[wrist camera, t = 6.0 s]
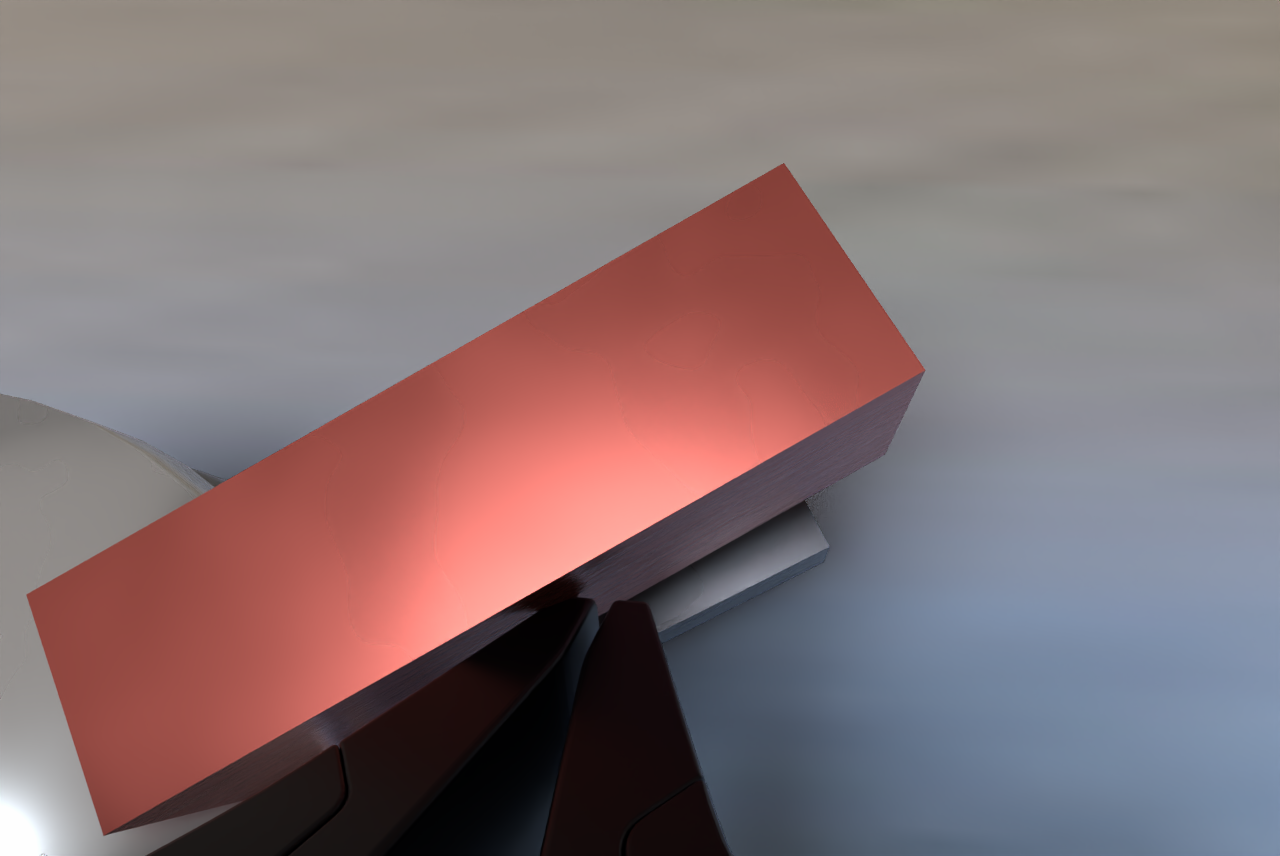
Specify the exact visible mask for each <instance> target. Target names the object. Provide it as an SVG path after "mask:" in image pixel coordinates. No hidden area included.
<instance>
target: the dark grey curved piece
mask: <svg viewBox="0 0 1280 856" xmlns="http://www.w3.org/2000/svg"><path fill="white" fill-rule="evenodd" d="M192 470H193V471H195V472H196V473H197V474H198V475H200V476H201V477H202V478H204V479H205V480H206V481H207V482H209V483H210V484H211V485H212V486H214V487H216V486H218V485H220V484H221V483H223V482H225V481H227V480H225V479H222V478H219V477H216V476H213V475H210V474H207V473H204V472H201V471H198V470H195V469H192ZM829 547H830V546H829V544H828V542H827V540H826V539H825V537H824V535H823V533H822V531H821V529H820V528H819V526H818V524H817V522H816V520H815V518H814V517H813V515H812V513H811V511H810V509H809V507H808V506H807V504H806V502H805V500H804V501H802V502H800V503H798V504H796V505H795V506H793V507H791V508H789V509H788V510H786V511H784V512H782V513H781V514H779V515H777V516H775V517H773V518H772V519H770V520H768V521H766V522H765V523H763V524H761V525H759V526H758V527H756V528H754V529H752V530H750V531H749V532H747V533H745V534H743V535H742V536H740V537H738V538H736V539H735V540H733V541H731V542H729V543H728V544H726V545H724V546H722V547H720V548H719V549H717V550H715V551H713V552H712V553H710V554H708V555H706V556H705V557H703V558H701V559H699V560H697V561H696V562H694V563H692V564H690V565H689V566H687V567H685V568H683V569H682V570H680V571H678V572H676V573H674V574H673V575H671V576H669V577H667V578H666V579H664V580H662V581H660V582H659V583H657V584H655V585H653V586H651V587H650V588H648V589H646V590H644V591H643V592H641V593H639V594H637V595H636V596H634V597H632V598H630V599H629V600H627V601H641V602H646V603H648V605H649V606H650V609H651V612H652V615H653V619H654V622H655V625H656V628H657V631H658V634H659V638H660V641H661V644H662V643H664V642H666V641H668V640H670V639H672V638H674V637H676V636H678V635H680V634H682V633H684V632H686V631H688V630H690V629H692V628H694V627H696V626H698V625H700V624H702V623H704V622H706V621H708V620H710V619H712V618H714V617H716V616H718V615H720V614H722V613H724V612H726V611H728V610H730V609H732V608H734V607H736V606H737V605H739V604H741V603H743V602H745V601H747V600H749V599H751V598H753V597H755V596H757V595H759V594H761V593H763V592H765V591H767V590H769V589H771V588H773V587H775V586H777V585H779V584H781V583H783V582H785V581H787V580H789V579H791V578H793V577H795V576H797V575H799V574H801V573H803V572H805V571H807V570H809V569H811V568H813V567H815V566H817V565H819V564H821V563H823V562H824V560H825V558H826V555H827V552H828V550H829ZM607 612H608V611H607ZM607 612H606V613H604V614H602V615H600V616H598V620H599V628H600V626H601V624H602V622H603V620H604V618H605V616H606V614H607Z"/></svg>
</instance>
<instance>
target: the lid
mask: <svg viewBox="0 0 1280 856" xmlns="http://www.w3.org/2000/svg"><path fill="white" fill-rule="evenodd" d="M924 372H925V369H924V368H923V366H922V365H921V363H920V362H919V360H918V359H917V357H916V356H915V354H914V353H913V351H912V350H911V349H910V347H909V346H908V344H907V343H906V341H905V340H904V338H903V337H902V335H901V334H900V332H899V331H898V329H897V328H896V327H895V325H894V324H893V322H892V321H891V319H890V318H889V316H888V315H887V313H886V312H885V310H884V309H883V308H882V306H881V305H880V303H879V302H878V300H877V299H876V297H875V296H874V294H873V293H872V291H871V290H870V288H869V287H868V286H867V284H866V283H865V281H864V280H863V278H862V277H861V275H860V274H859V272H858V271H857V269H856V268H855V266H854V265H853V264H852V262H851V261H850V259H849V258H848V256H847V255H846V253H845V252H844V250H843V249H842V247H841V246H840V244H839V243H838V242H837V240H836V239H835V237H834V236H833V234H832V233H831V231H830V230H829V228H828V227H827V225H826V224H825V222H824V221H823V220H822V218H821V217H820V215H819V214H818V212H817V211H816V209H815V208H814V206H813V205H812V203H811V202H810V201H809V199H808V198H807V196H806V195H805V193H804V192H803V190H802V189H801V187H800V186H799V184H798V183H797V181H796V180H795V179H794V177H793V176H792V174H791V173H790V171H789V170H788V168H787V167H786V165H785V164H784V163H783V164H781V165H780V166H778V167H776V168H774V169H773V170H771V171H769V172H767V173H766V174H764V175H762V176H760V177H759V178H757V179H755V180H753V181H752V182H750V183H748V184H746V185H745V186H743V187H741V188H739V189H737V190H736V191H734V192H732V193H730V194H729V195H727V196H725V197H723V198H722V199H720V200H718V201H716V202H715V203H713V204H711V205H709V206H708V207H706V208H704V209H702V210H701V211H699V212H697V213H695V214H694V215H692V216H690V217H688V218H687V219H685V220H683V221H681V222H680V223H678V224H676V225H674V226H673V227H671V228H669V229H667V230H666V231H664V232H662V233H660V234H658V235H657V236H655V237H653V238H651V239H650V240H648V241H646V242H644V243H643V244H641V245H639V246H637V247H636V248H634V249H632V250H630V251H629V252H627V253H625V254H623V255H622V256H620V257H618V258H616V259H615V260H613V261H611V262H609V263H608V264H606V265H604V266H602V267H601V268H599V269H597V270H595V271H594V272H592V273H590V274H588V275H586V276H585V277H583V278H581V279H579V280H578V281H576V282H574V283H572V284H571V285H569V286H567V287H565V288H564V289H562V290H560V291H558V292H557V293H555V294H553V295H551V296H550V297H548V298H546V299H544V300H543V301H541V302H539V303H537V304H536V305H534V306H532V307H530V308H529V309H527V310H525V311H523V312H522V313H520V314H518V315H516V316H514V317H513V318H511V319H509V320H507V321H506V322H504V323H502V324H500V325H499V326H497V327H495V328H493V329H492V330H490V331H488V332H486V333H485V334H483V335H481V336H479V337H478V338H476V339H474V340H472V341H471V342H469V343H467V344H465V345H464V346H462V347H460V348H458V349H457V350H455V351H453V352H451V353H450V354H448V355H446V356H444V357H443V358H441V359H439V360H437V361H435V362H434V363H432V364H430V365H428V366H427V367H425V368H423V369H421V370H420V371H418V372H416V373H414V374H413V375H411V376H409V377H407V378H406V379H404V380H402V381H400V382H399V383H397V384H395V385H393V386H392V387H390V388H388V389H386V390H385V391H383V392H381V393H379V394H378V395H376V396H374V397H372V398H371V399H369V400H367V401H365V402H363V403H362V404H360V405H358V406H356V407H355V408H353V409H351V410H349V411H348V412H346V413H344V414H342V415H341V416H339V417H337V418H335V419H334V420H332V421H330V422H328V423H327V424H325V425H323V426H321V427H320V428H318V429H316V430H314V431H313V432H311V433H309V434H307V435H306V436H304V437H302V438H300V439H299V440H297V441H295V442H293V443H291V444H290V445H288V446H286V447H284V448H283V449H281V450H279V451H277V452H276V453H274V454H272V455H270V456H269V457H267V458H265V459H263V460H262V461H260V462H258V463H256V464H255V465H253V466H251V467H249V468H248V469H246V470H244V471H242V472H241V473H239V474H237V475H235V476H234V477H232V478H230V479H228V480H227V481H225V482H223V483H221V484H220V485H218V486H216V487H214V486H212V485H211V484H210V483H209V482H207V481H206V480H205V479H204V478H202V477H201V476H200V475H198V474H197V473H196V472H195V471H193V470H192V469H191V468H190V467H188V466H186V465H184V464H183V463H181V462H179V461H177V460H176V459H174V458H172V457H170V456H169V455H167V454H165V453H163V452H162V451H160V450H158V449H156V448H154V447H153V446H151V445H149V444H147V443H146V442H144V441H142V440H139V439H137V438H134V437H131V436H129V435H126V434H123V433H121V432H118V431H116V430H113V429H110V428H108V427H105V426H102V425H100V424H97V423H94V422H92V421H89V420H86V419H83V418H80V417H77V416H74V415H72V414H69V413H66V412H63V411H60V410H57V409H55V408H52V407H49V406H46V405H43V404H40V403H37V402H35V401H32V400H27V399H22V398H17V397H12V396H8V395H3V394H0V856H146V855H148V854H149V853H151V852H153V851H155V850H157V849H158V848H160V847H162V846H164V845H166V844H167V843H169V842H171V841H173V840H175V839H177V838H178V837H180V836H182V835H184V834H186V833H187V832H189V831H191V830H193V829H195V828H197V827H198V826H200V825H202V824H204V823H206V822H207V821H209V820H211V819H213V818H214V817H216V816H218V815H220V814H221V813H223V812H225V811H227V810H228V809H230V808H232V807H234V806H235V805H237V804H239V803H241V802H242V801H244V800H246V799H247V798H249V797H251V796H253V795H254V794H256V793H258V792H260V791H261V790H263V789H264V788H266V787H268V786H269V785H271V784H272V783H274V782H276V781H277V780H279V779H280V778H282V777H284V776H285V775H287V774H288V773H290V772H292V771H293V770H295V769H296V768H298V767H300V766H301V765H303V764H304V763H306V762H308V761H309V760H311V759H312V758H314V757H315V756H317V755H318V754H320V753H321V752H323V751H324V750H326V749H327V748H329V747H330V746H332V745H338V747H339V743H340V742H341V741H342V740H343V739H345V738H346V737H348V736H349V735H351V734H352V733H354V732H355V731H357V730H358V729H360V728H361V727H363V726H365V725H366V724H368V723H369V722H371V721H372V720H374V719H375V718H377V717H378V716H380V715H381V714H383V713H384V712H386V711H387V710H389V709H390V708H392V707H393V706H395V705H396V704H398V703H400V702H401V701H403V700H404V699H406V698H407V697H409V696H410V695H412V694H413V693H415V692H416V691H418V690H419V689H421V688H422V687H424V686H425V685H427V684H428V683H430V682H431V681H433V680H434V679H436V678H438V677H439V676H441V675H442V674H444V673H445V672H447V671H448V670H450V669H451V668H453V667H454V666H456V665H457V664H459V663H460V662H462V661H463V660H465V659H466V658H468V657H469V656H471V655H473V654H474V653H476V652H477V651H479V650H480V649H482V648H483V647H485V646H486V645H488V644H489V643H491V642H492V641H494V640H495V639H497V638H498V637H500V636H501V635H503V634H504V633H506V632H508V631H509V630H511V629H512V628H514V627H515V626H517V625H518V624H520V623H521V622H523V621H524V620H526V619H527V618H529V617H530V616H532V615H533V614H535V613H536V612H538V611H540V610H541V609H544V608H546V607H549V606H552V605H554V604H557V603H560V602H563V601H565V600H568V599H571V598H574V597H582V598H591V599H593V600H594V601H595V603H596V605H597V610H598V616H600V615H602V614H604V613H606V612H607V611H608V610H609V609H610V607H611V605H612V603H613V602H615V601H617V600H626V601H627V600H629V599H630V598H632V597H634V596H636V595H637V594H639V593H641V592H643V591H644V590H646V589H648V588H650V587H651V586H653V585H655V584H657V583H659V582H660V581H662V580H664V579H666V578H667V577H669V576H671V575H673V574H674V573H676V572H678V571H680V570H682V569H683V568H685V567H687V566H689V565H690V564H692V563H694V562H696V561H697V560H699V559H701V558H703V557H705V556H706V555H708V554H710V553H712V552H713V551H715V550H717V549H719V548H720V547H722V546H724V545H726V544H728V543H729V542H731V541H733V540H735V539H736V538H738V537H740V536H742V535H743V534H745V533H747V532H749V531H750V530H752V529H754V528H756V527H758V526H759V525H761V524H763V523H765V522H766V521H768V520H770V519H772V518H773V517H775V516H777V515H779V514H781V513H782V512H784V511H786V510H788V509H789V508H791V507H793V506H795V505H796V504H798V503H800V502H802V501H804V500H805V499H807V498H809V497H811V496H812V495H814V494H816V493H818V492H819V491H821V490H823V489H825V488H826V487H828V486H830V485H832V484H834V483H835V482H837V481H839V480H841V479H842V478H844V477H846V476H848V475H849V474H851V473H853V472H855V471H857V470H858V469H860V468H862V467H864V466H865V465H867V464H869V463H871V462H872V461H874V460H876V459H878V458H880V457H881V456H883V455H885V453H886V451H887V449H888V447H889V445H890V443H891V441H892V439H893V436H894V434H895V432H896V430H897V428H898V426H899V424H900V422H901V420H902V418H903V416H904V414H905V411H906V409H907V407H908V405H909V403H910V401H911V399H912V397H913V395H914V393H915V391H916V389H917V386H918V384H919V382H920V380H921V378H922V376H923V374H924ZM339 749H340V748H339Z"/></svg>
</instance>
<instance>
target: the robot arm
mask: <svg viewBox="0 0 1280 856" xmlns="http://www.w3.org/2000/svg"><path fill="white" fill-rule="evenodd" d="M339 748H340V749H339ZM146 856H733V854H732V852H731V850H730V848H729V846H728V844H727V841H726V838H725V835H724V833H723V830H722V827H721V825H720V822H719V819H718V817H717V814H716V811H715V808H714V805H713V802H712V799H711V796H710V793H709V790H708V786H707V784H706V783H705V780H704V777H703V773H702V770H701V767H700V764H699V761H698V758H697V755H696V751H695V748H694V745H693V742H692V739H691V736H690V732H689V729H688V726H687V723H686V720H685V717H684V713H683V710H682V707H681V704H680V701H679V698H678V695H677V691H676V688H675V685H674V682H673V679H672V676H671V672H670V669H669V666H668V663H667V660H666V657H665V653H664V650H663V647H662V644H661V641H660V638H659V634H658V631H657V628H656V625H655V622H654V619H653V615H652V612H651V609H650V606H649V605H648V603H646V602H641V601H626V600H617V601H615V602H613V603H612V605H611V607H610V609H609V610H608V612H607V614H606V616H605V618H604V620H603V622H602V624H601V626H600V628H599V620H598V610H597V605H596V603H595V601H594V600H593V599H591V598H582V597H574V598H571V599H568V600H565V601H563V602H560V603H557V604H554V605H552V606H549V607H546V608H544V609H541V610H540V611H538V612H536V613H535V614H533V615H532V616H530V617H529V618H527V619H526V620H524V621H523V622H521V623H520V624H518V625H517V626H515V627H514V628H512V629H511V630H509V631H508V632H506V633H504V634H503V635H501V636H500V637H498V638H497V639H495V640H494V641H492V642H491V643H489V644H488V645H486V646H485V647H483V648H482V649H480V650H479V651H477V652H476V653H474V654H473V655H471V656H469V657H468V658H466V659H465V660H463V661H462V662H460V663H459V664H457V665H456V666H454V667H453V668H451V669H450V670H448V671H447V672H445V673H444V674H442V675H441V676H439V677H438V678H436V679H434V680H433V681H431V682H430V683H428V684H427V685H425V686H424V687H422V688H421V689H419V690H418V691H416V692H415V693H413V694H412V695H410V696H409V697H407V698H406V699H404V700H403V701H401V702H400V703H398V704H396V705H395V706H393V707H392V708H390V709H389V710H387V711H386V712H384V713H383V714H381V715H380V716H378V717H377V718H375V719H374V720H372V721H371V722H369V723H368V724H366V725H365V726H363V727H361V728H360V729H358V730H357V731H355V732H354V733H352V734H351V735H349V736H348V737H346V738H345V739H343V740H342V741H341V742H340V743H339V747H338V745H332V746H330V747H329V748H327V749H326V750H324V751H323V752H321V753H320V754H318V755H317V756H315V757H314V758H312V759H311V760H309V761H308V762H306V763H304V764H303V765H301V766H300V767H298V768H296V769H295V770H293V771H292V772H290V773H288V774H287V775H285V776H284V777H282V778H280V779H279V780H277V781H276V782H274V783H272V784H271V785H269V786H268V787H266V788H264V789H263V790H261V791H260V792H258V793H256V794H254V795H253V796H251V797H249V798H247V799H246V800H244V801H242V802H241V803H239V804H237V805H235V806H234V807H232V808H230V809H228V810H227V811H225V812H223V813H221V814H220V815H218V816H216V817H214V818H213V819H211V820H209V821H207V822H206V823H204V824H202V825H200V826H198V827H197V828H195V829H193V830H191V831H189V832H187V833H186V834H184V835H182V836H180V837H178V838H177V839H175V840H173V841H171V842H169V843H167V844H166V845H164V846H162V847H160V848H158V849H157V850H155V851H153V852H151V853H149V854H148V855H146Z"/></svg>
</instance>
